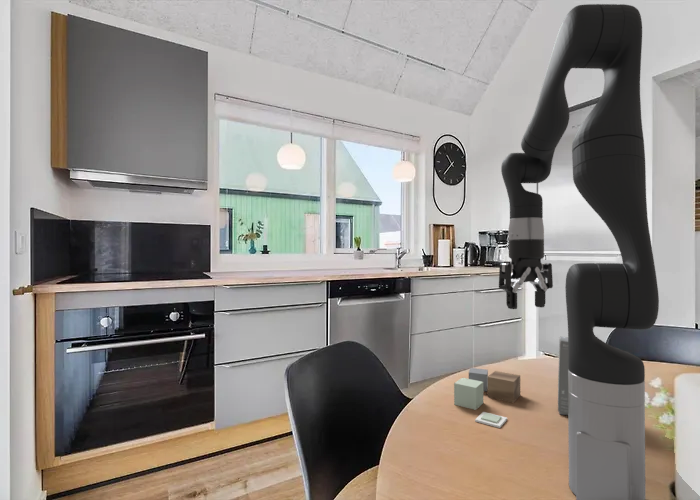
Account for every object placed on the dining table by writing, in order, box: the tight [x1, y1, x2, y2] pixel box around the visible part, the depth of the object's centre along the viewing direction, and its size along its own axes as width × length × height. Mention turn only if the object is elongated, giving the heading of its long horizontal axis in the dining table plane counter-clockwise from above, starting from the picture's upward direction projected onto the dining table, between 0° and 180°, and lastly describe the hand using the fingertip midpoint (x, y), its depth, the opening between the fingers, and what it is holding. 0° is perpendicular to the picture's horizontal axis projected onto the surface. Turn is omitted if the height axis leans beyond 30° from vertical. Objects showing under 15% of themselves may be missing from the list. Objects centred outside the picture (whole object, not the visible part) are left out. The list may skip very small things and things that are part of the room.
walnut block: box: [487, 370, 521, 403], centre depth 94 cm, size 6×6×5 cm
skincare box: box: [557, 336, 568, 416], centre depth 85 cm, size 8×7×16 cm
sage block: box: [453, 377, 484, 411], centre depth 90 cm, size 5×5×5 cm
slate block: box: [468, 367, 489, 393], centre depth 100 cm, size 4×4×4 cm
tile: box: [474, 411, 508, 429], centre depth 81 cm, size 5×5×1 cm
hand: (526, 307), depth 90 cm, fingers open, 8 cm apart
